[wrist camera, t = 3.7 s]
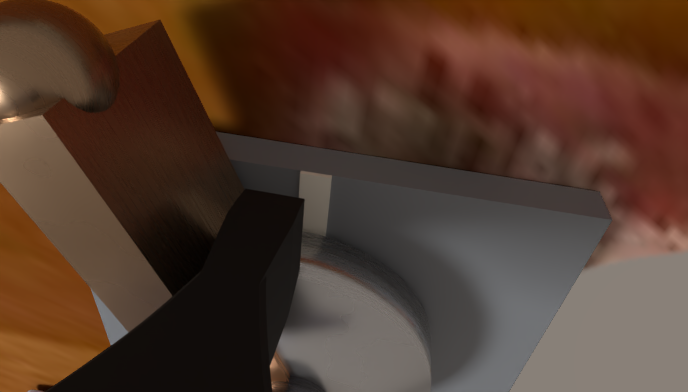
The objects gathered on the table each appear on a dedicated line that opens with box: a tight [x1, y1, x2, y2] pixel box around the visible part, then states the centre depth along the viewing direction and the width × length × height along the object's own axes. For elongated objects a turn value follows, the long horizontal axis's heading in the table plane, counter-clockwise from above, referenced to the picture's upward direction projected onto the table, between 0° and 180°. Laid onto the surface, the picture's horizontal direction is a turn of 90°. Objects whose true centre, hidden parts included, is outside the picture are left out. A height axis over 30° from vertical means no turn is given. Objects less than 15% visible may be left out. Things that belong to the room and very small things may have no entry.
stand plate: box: [91, 132, 612, 392], centre depth 15 cm, size 13×13×1 cm
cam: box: [0, 0, 431, 392], centre depth 11 cm, size 14×8×4 cm, turn 16°
